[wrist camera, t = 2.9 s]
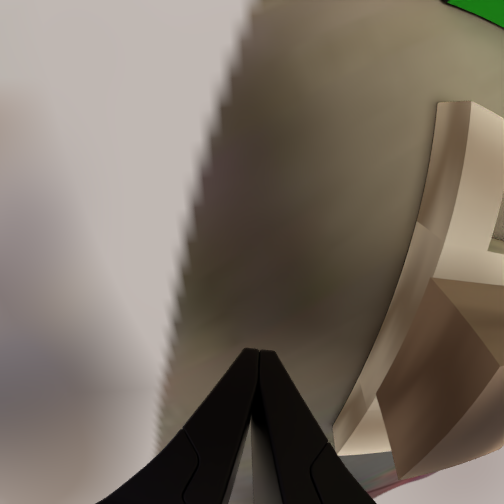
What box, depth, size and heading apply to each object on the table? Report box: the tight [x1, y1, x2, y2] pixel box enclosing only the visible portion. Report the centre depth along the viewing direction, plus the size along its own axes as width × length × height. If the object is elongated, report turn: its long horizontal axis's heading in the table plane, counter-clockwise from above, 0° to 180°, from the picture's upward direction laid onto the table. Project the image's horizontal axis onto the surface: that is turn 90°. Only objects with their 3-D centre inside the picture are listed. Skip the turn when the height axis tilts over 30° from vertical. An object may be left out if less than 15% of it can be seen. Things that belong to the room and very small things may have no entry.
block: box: [376, 277, 504, 480], centre depth 7 cm, size 5×5×4 cm
